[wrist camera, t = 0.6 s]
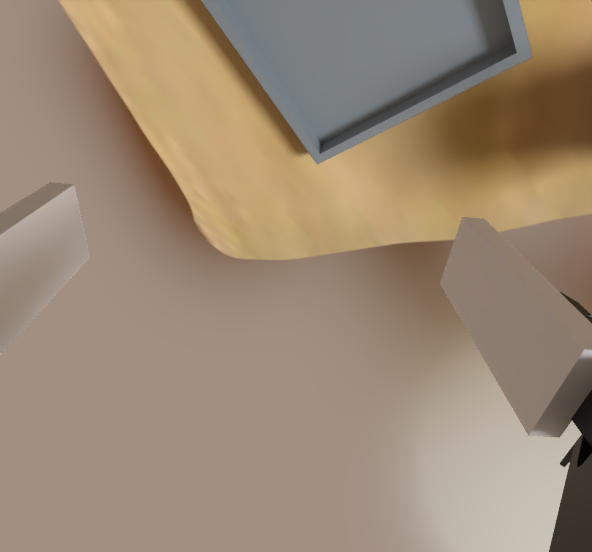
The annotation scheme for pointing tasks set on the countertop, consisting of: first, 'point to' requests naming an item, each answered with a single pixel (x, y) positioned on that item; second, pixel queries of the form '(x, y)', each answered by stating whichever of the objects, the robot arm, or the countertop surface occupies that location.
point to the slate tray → (368, 58)
